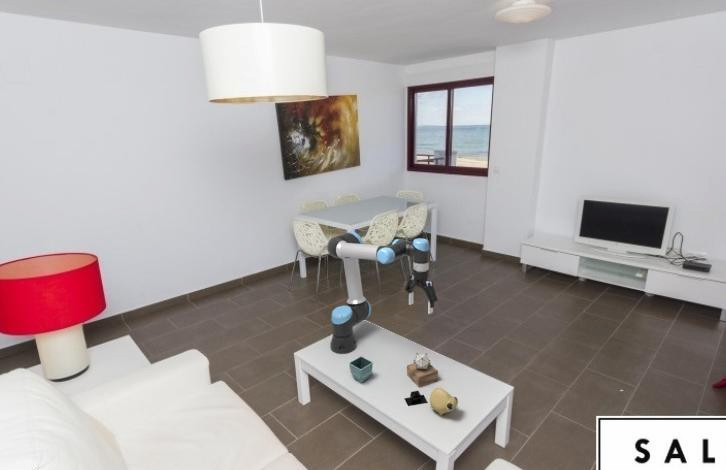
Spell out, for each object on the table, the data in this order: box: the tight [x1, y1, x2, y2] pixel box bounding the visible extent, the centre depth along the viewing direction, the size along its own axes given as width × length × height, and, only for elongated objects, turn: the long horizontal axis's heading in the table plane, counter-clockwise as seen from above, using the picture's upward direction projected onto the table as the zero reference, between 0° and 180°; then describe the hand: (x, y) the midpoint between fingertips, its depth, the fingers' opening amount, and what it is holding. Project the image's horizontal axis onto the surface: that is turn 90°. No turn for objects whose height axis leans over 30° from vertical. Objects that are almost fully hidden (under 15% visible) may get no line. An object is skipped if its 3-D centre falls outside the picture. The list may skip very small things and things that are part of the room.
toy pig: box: [429, 387, 459, 416], centre depth 166 cm, size 10×12×11 cm
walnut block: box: [406, 362, 439, 388], centre depth 190 cm, size 11×11×6 cm
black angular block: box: [404, 390, 428, 407], centre depth 174 cm, size 12×7×5 cm, turn 102°
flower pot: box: [348, 355, 374, 383], centre depth 191 cm, size 9×9×9 cm
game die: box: [412, 352, 431, 370], centre depth 188 cm, size 9×8×10 cm
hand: (420, 308), depth 195 cm, fingers open, 13 cm apart
